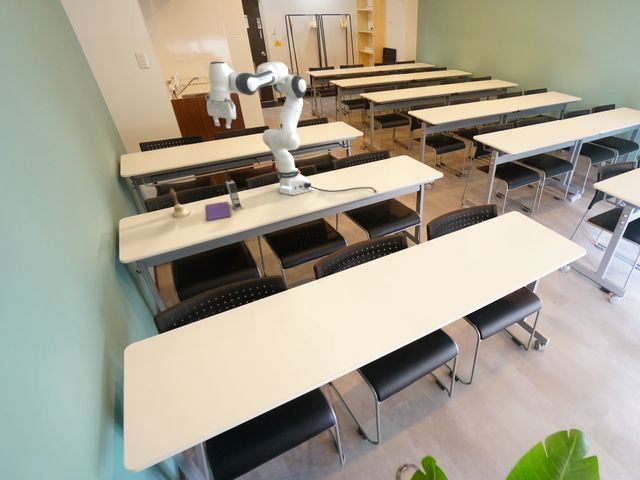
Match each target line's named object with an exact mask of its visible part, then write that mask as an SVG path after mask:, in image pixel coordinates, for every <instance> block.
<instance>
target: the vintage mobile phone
mask: <svg viewBox="0 0 640 480" xmlns="http://www.w3.org/2000/svg"><path fill="white" fill-rule="evenodd" d="M225 172H226V176H227V179H228V181H225V185H226V188H227V191H228V194H229V197H230V201H231V204H232V207H233V209H234V210H236V211H237V210H240V209H242V208H243V206H242V204H241V202H240V197H239V193H238V189H237V186H236V182H234V180H231V179H230V178H231V177H230V175H229V171H228V168H227V167H225Z"/></svg>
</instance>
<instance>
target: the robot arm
mask: <svg viewBox="0 0 640 480" xmlns="http://www.w3.org/2000/svg"><path fill="white" fill-rule="evenodd" d="M208 80H209V84H210V87H209V90H210V92H209V93H207V94H206V95H205V100H206V110H207V114H208V116H210V117H213V118H212V119H213V121H214V126H215V127H221V122H220V121H219V118H221V119H225V121H226V124H224V126H225V128H226V129H231V124H232V120H236V119H237V111H236V105H235V104H234V101H233V100H232V99H231V93H233V94H238V95H239V94H241V95H245V96H253V95H255V94H256V93H257V92H258V90H260V89H261V88H265V87H266V86H272V88H273V89H274V91H275V92H276V93H278V94H281V95H285V101H284V103H283V106H282V108H281V111H280V113H279V117H278V120H279V123H280V124H281V129H277V128H275V129H274V128H269V129H265V130H264V131H263V134H262V141H263V143H264V144H265V145H266V146H267V147H268V148H269V149H270V152H271V153H272V155H273V158H274V159H275V163H276V164H275V165H276V168H277V171H276V172H277V178H278V180H279V193H281V194H284V195H290V196H295V195H300V194H304V193H308V192H311V191H314V190H316V191H317V190H318V191H320V192H321V191H322V192H327V193H338V192H347V191H351V190H359V189H360V190H361V189H363V190H364V189H365V190H366V189H371V190H373V191H374V193H377V190H376V189H375V188H373V187H371V186H360V187H359V186H358V187H351V188H346V189H337V190H330V189H322V188H319V187H315V186H314V185H313V184H312V183H311V182H310V181H309V179H308V178H307V177H306V176H304V175H302V174H301V173H302V172H301V171H300V170H299V169H298V168H296V165H295V159H294V157H293V155H292V154H291V153H290V152H289V151H295V150H298V148H299V147H300V143H301V140H300V136H298V134H297V127H298V124H299V121H300V117H301V114H302V111H303V106H304V100H303V97H304V96H305V94H306V92H307V88H308V86H307V81H306V80H305V78H304V77H303V76H301V75H298V74H289V70H288V67H287V65H285V63H284V62H281V61H268V62H267V61H266V62H263V63H261V64H258V66H257V68H256V73H255V74H253V73H249V72H236V71H234V70H233V69H232V68H230V67H229V65H228V64H227V62H224V61H211V62H210V63H209V66H208Z"/></svg>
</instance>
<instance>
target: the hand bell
mask: <svg viewBox="0 0 640 480" xmlns="http://www.w3.org/2000/svg"><path fill="white" fill-rule="evenodd" d="M169 195H170V197H171V198H172V200H173V201H174V204H175V205H174V206H173V210H174V212H173V214H172V216H173V217H175V218H182V217H185V216H187V215H188V214H189V212H190V211H189V210H186V208H185V207H184V206H183V204H181V203H179V201H178V198H177V194H176V192H175V190H174V188H169Z"/></svg>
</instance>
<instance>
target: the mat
mask: <svg viewBox="0 0 640 480" xmlns="http://www.w3.org/2000/svg"><path fill="white" fill-rule="evenodd" d="M206 215H207V221H215V220H219V219H220V220H221V219H225V218H231V213H230V208H229V204H228V201H222V202H216V203H215V202H214V203H210V204H206Z"/></svg>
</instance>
